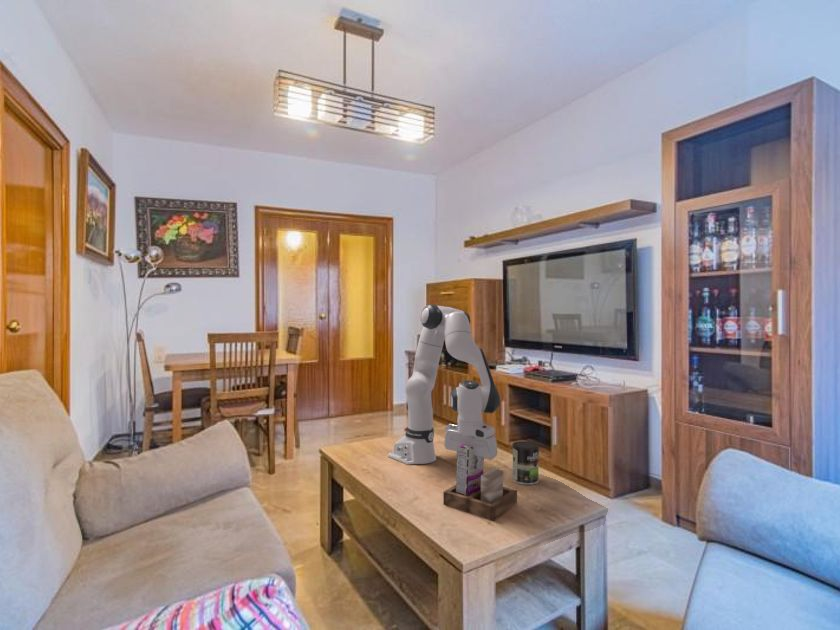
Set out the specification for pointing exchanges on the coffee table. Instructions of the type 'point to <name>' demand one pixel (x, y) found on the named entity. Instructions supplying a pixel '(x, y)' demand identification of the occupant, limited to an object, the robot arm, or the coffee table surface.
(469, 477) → the candy bar box
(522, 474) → the coffee can
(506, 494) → the tray
